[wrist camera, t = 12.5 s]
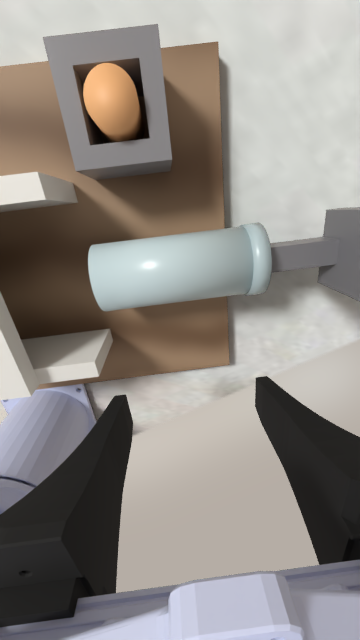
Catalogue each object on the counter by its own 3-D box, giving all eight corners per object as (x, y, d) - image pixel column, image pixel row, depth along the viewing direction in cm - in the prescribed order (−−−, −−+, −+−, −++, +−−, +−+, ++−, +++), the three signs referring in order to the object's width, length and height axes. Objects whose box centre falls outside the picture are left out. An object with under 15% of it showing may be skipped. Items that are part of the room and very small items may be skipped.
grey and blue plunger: (323, 276, 20) (396, 305, 14) (114, 302, 19) (92, 344, 13) (332, 208, 18) (422, 206, 11) (99, 236, 17) (64, 250, 11)
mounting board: (226, 358, 24) (229, 364, 23) (-1, 388, 24) (-7, 395, 23) (214, 52, 15) (218, 41, 14) (-152, 94, 15) (-173, 86, 14)
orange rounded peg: (146, 147, 15) (141, 127, 12) (108, 152, 15) (90, 133, 12) (140, 98, 14) (132, 59, 11) (99, 103, 14) (76, 66, 11)
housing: (187, 331, 21) (196, 374, 16) (-4, 355, 21) (-65, 408, 15) (159, 71, 14) (156, -20, 9) (-126, 105, 14) (-320, 33, 8)
